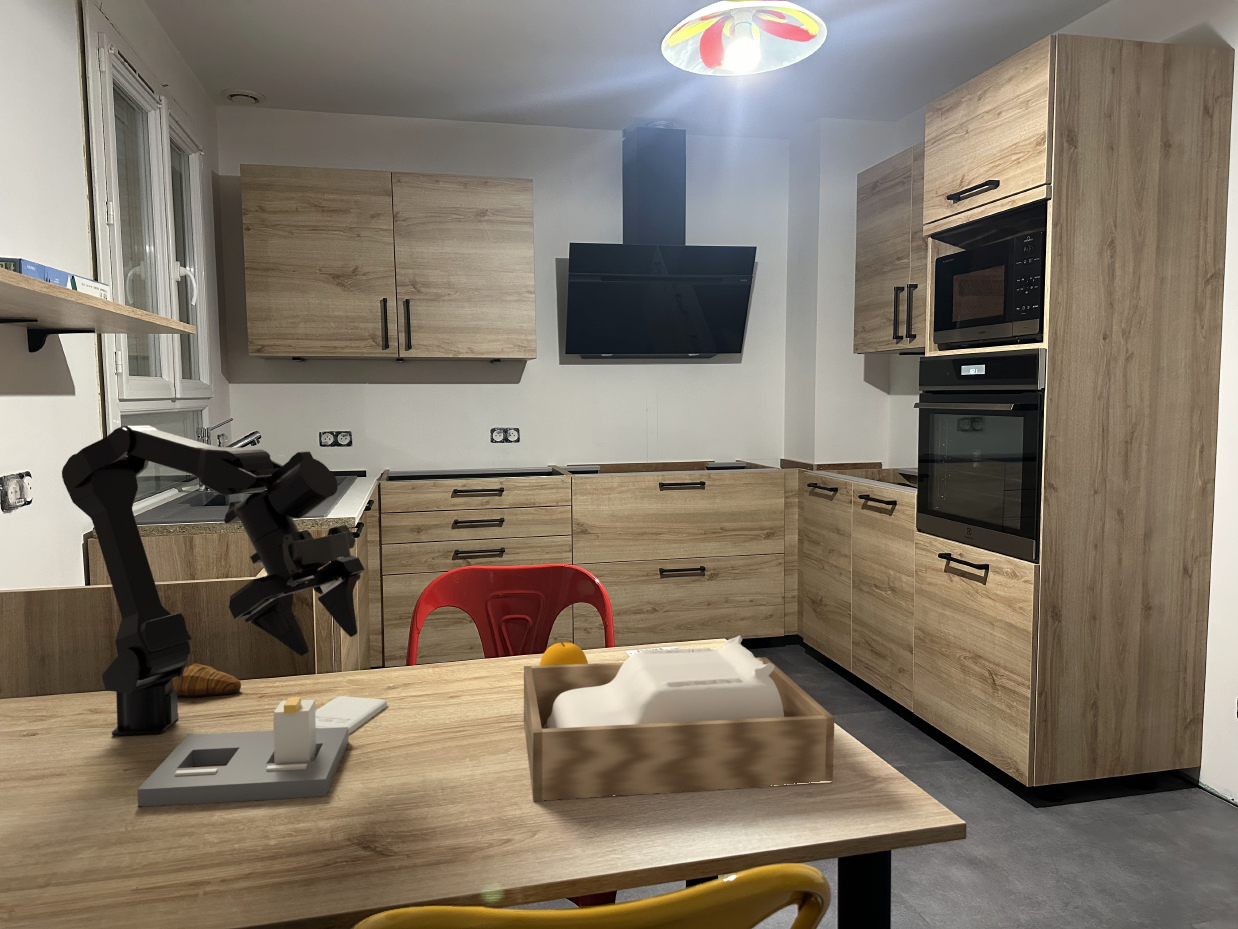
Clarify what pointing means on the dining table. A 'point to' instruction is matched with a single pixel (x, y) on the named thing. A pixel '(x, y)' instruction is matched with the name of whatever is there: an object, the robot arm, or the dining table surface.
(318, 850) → the dining table surface
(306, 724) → the plug
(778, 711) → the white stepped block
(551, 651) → the apple
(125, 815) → the dining table surface
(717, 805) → the dining table surface
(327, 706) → the external hard drive
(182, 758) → the panel
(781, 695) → the wooden crate
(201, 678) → the croissant
